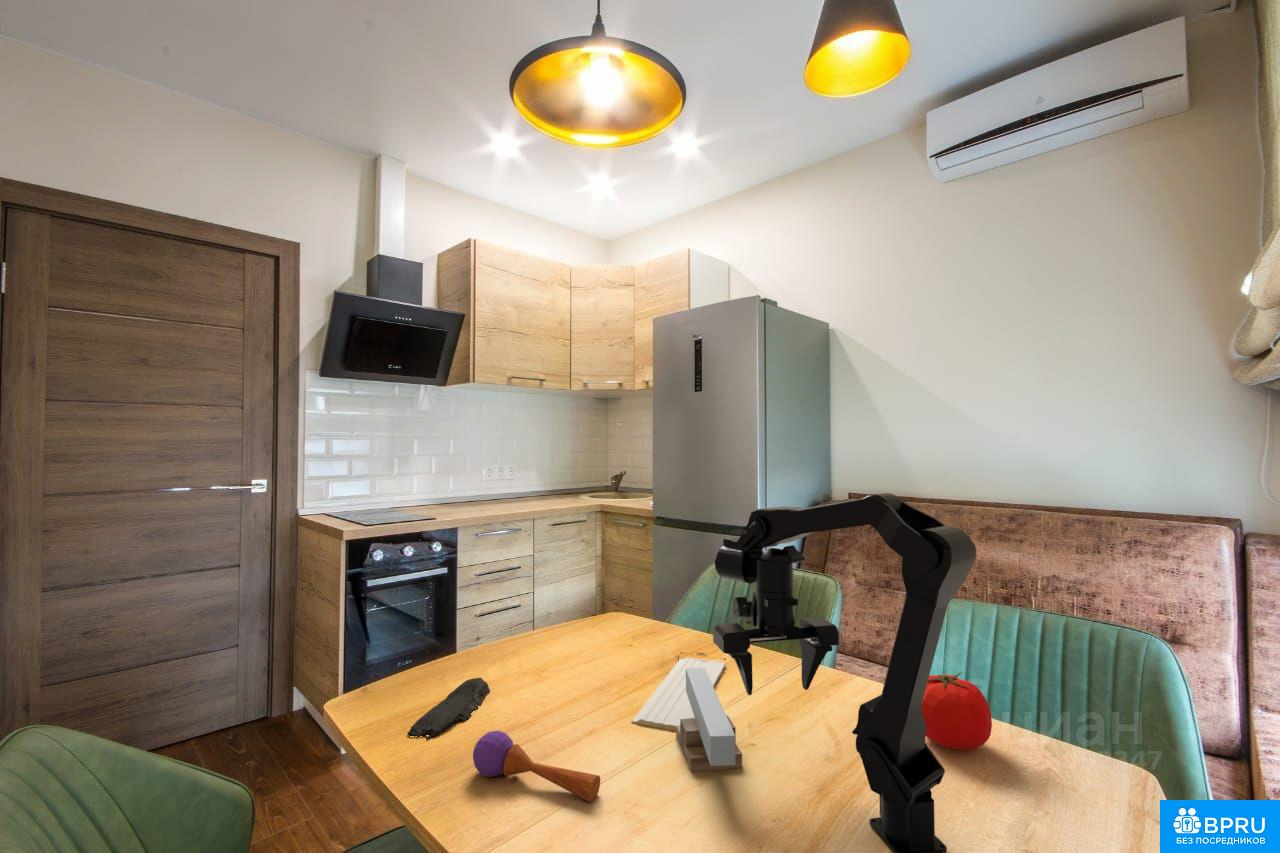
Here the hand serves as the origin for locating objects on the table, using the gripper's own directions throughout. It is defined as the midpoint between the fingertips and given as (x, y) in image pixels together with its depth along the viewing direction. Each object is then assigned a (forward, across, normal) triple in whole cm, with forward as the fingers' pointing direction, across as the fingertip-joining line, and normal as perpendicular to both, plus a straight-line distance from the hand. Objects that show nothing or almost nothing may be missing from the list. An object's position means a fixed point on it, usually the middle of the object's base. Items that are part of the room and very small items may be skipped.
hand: (777, 691), depth 86 cm
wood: (+10, +51, -28) cm, 59 cm away
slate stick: (+6, +10, -6) cm, 13 cm away
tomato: (+12, -30, -1) cm, 32 cm away
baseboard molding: (+11, +8, -28) cm, 32 cm away
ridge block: (+11, +10, -6) cm, 16 cm away
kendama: (+11, +37, -2) cm, 39 cm away
